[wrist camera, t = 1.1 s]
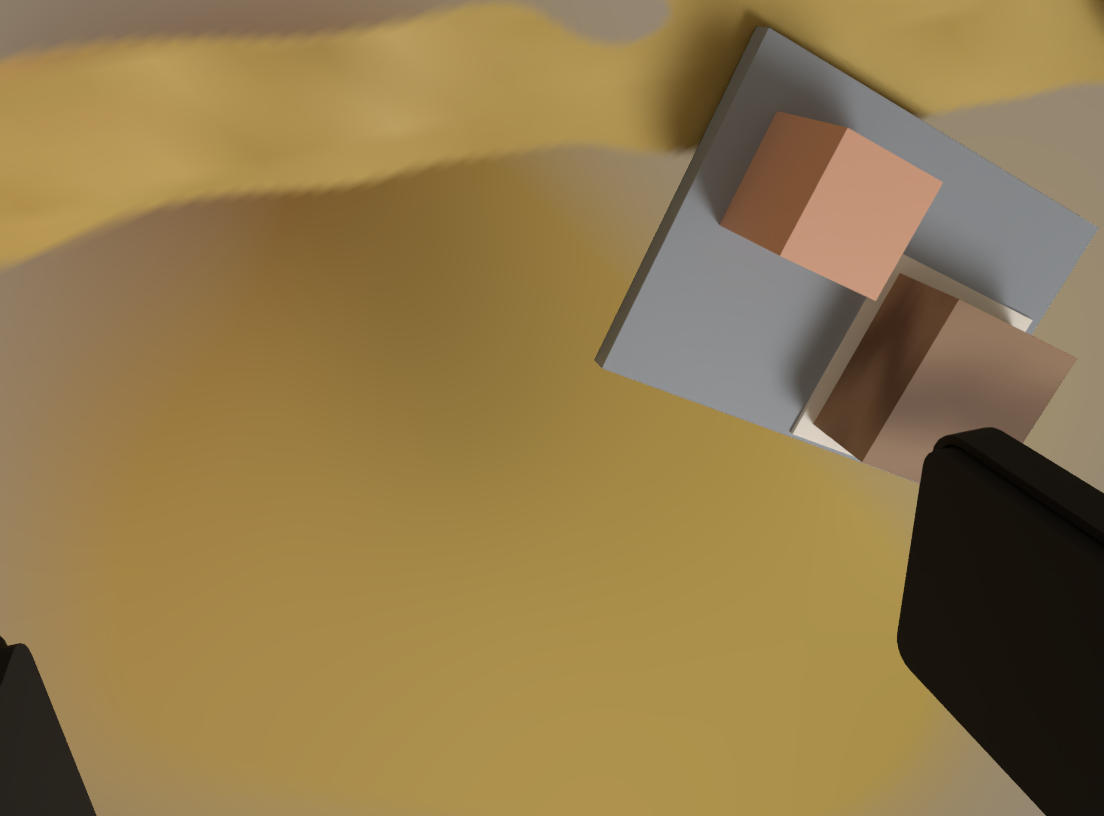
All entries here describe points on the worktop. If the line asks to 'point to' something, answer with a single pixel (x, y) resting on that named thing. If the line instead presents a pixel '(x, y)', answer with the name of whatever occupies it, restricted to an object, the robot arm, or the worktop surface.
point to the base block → (936, 379)
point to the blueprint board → (798, 293)
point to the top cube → (830, 202)
